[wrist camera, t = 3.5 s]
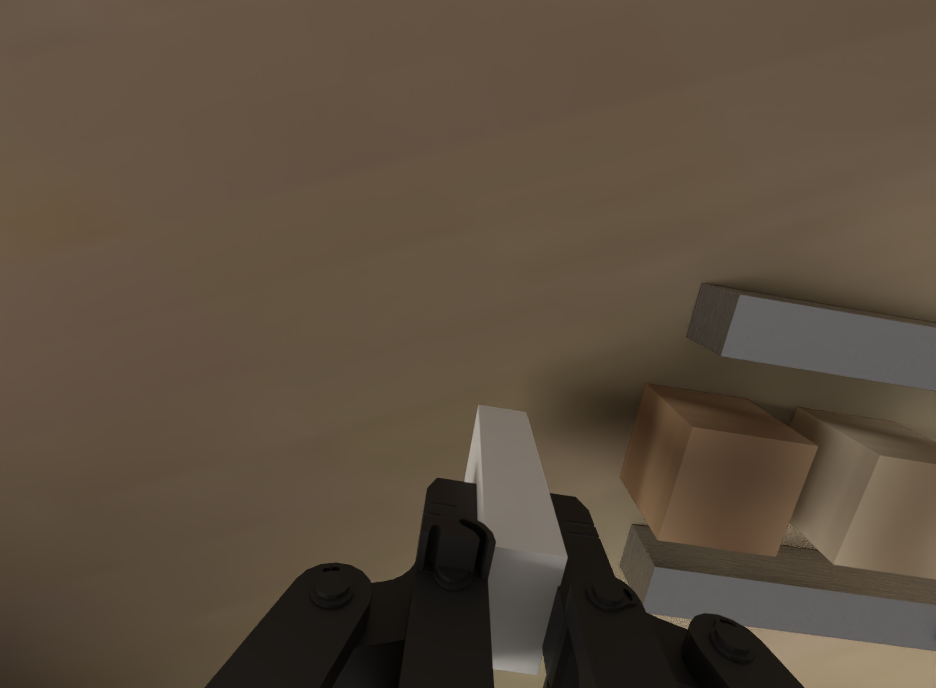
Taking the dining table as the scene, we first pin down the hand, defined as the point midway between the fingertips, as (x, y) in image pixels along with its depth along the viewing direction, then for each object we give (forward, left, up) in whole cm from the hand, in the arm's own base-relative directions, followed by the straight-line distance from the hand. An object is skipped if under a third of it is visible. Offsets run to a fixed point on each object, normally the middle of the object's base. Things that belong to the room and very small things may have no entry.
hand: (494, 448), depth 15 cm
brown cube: (+8, 0, -4) cm, 8 cm away
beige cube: (+14, 0, -4) cm, 14 cm away
